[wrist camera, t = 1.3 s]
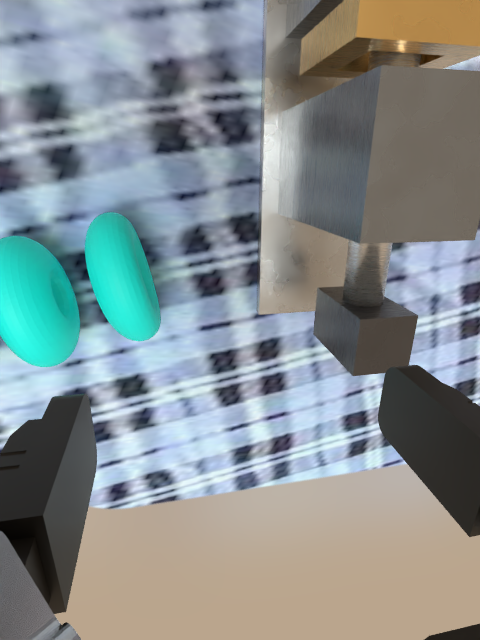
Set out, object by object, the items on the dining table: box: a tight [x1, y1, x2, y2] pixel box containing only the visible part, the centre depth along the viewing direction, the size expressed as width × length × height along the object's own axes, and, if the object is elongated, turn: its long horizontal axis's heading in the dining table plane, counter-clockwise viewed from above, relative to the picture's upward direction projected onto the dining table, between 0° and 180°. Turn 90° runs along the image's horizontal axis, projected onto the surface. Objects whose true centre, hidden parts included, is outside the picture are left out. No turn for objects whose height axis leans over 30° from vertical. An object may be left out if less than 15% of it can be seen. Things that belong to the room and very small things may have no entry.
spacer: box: [299, 0, 480, 78], centre depth 22 cm, size 2×8×8 cm, turn 90°
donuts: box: [0, 212, 161, 367], centre depth 29 cm, size 10×10×10 cm
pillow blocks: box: [257, 0, 480, 315], centre depth 26 cm, size 27×10×16 cm, turn 0°
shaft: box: [313, 50, 421, 376], centre depth 24 cm, size 26×4×7 cm, turn 0°
